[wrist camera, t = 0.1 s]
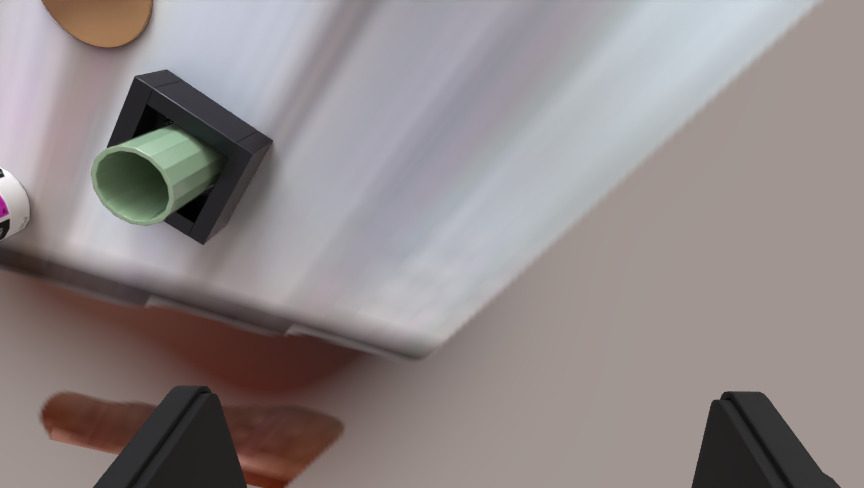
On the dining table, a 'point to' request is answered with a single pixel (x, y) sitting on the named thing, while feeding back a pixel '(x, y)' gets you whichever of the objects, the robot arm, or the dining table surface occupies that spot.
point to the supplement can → (12, 205)
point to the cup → (155, 174)
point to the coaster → (101, 19)
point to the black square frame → (209, 123)
